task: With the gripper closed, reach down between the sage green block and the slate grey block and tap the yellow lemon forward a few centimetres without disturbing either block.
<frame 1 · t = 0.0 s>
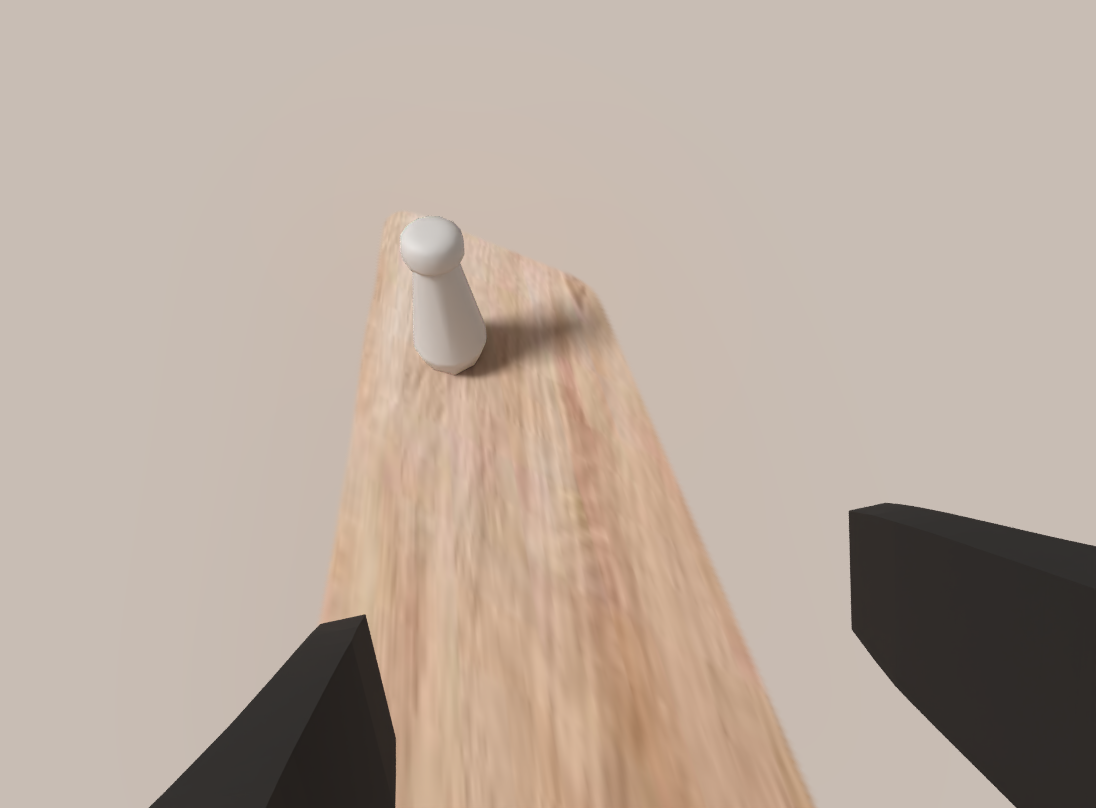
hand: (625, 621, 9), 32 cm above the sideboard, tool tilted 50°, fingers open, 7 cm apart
salt shaker: (453, 356, 54), on the sideboard
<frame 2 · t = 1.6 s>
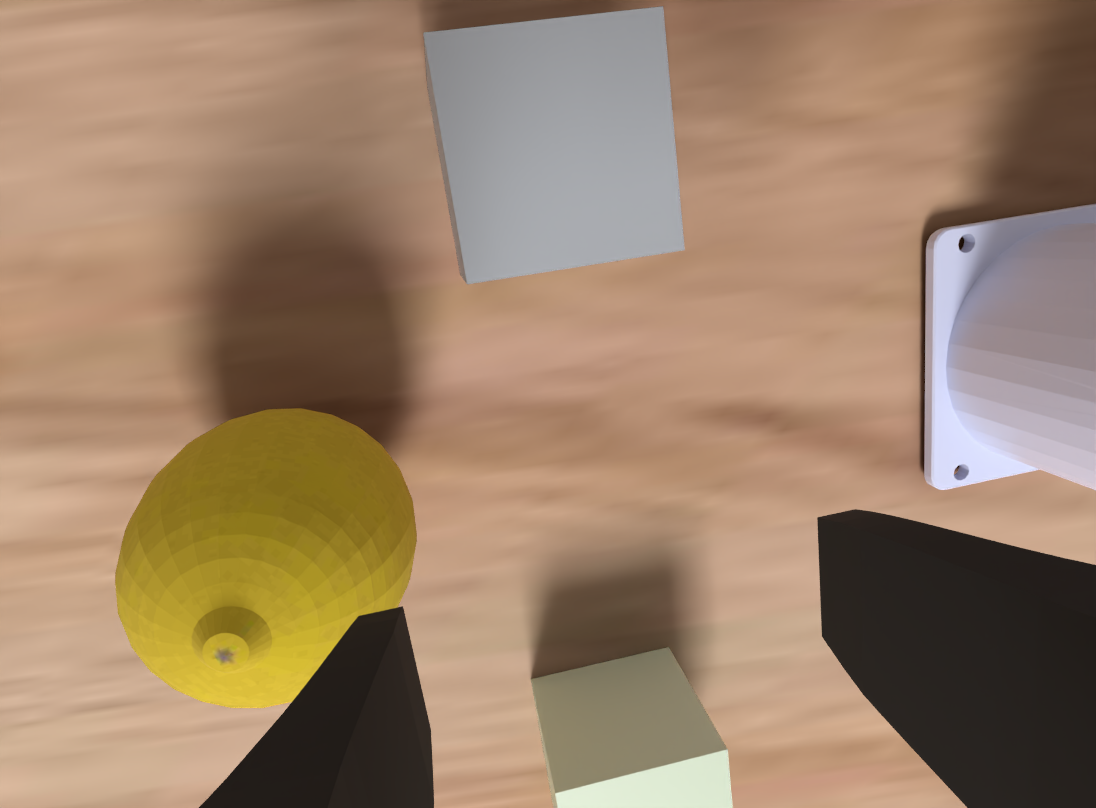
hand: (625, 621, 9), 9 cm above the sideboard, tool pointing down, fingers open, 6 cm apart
slate block: (531, 173, 17), on the sideboard
sage block: (608, 720, 21), on the sideboard
lemon: (318, 475, 18), on the sideboard
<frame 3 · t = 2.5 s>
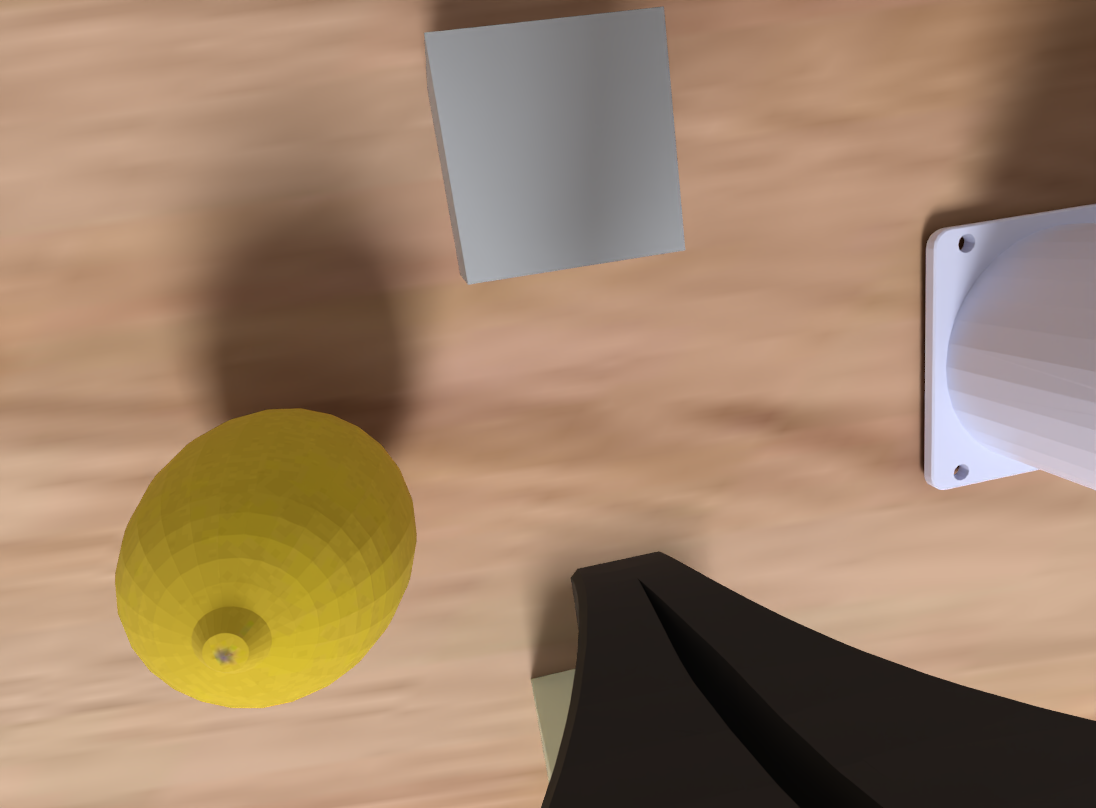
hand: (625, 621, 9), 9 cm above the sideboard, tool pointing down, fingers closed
slate block: (531, 173, 17), on the sideboard
sage block: (608, 720, 21), on the sideboard
lemon: (318, 475, 18), on the sideboard
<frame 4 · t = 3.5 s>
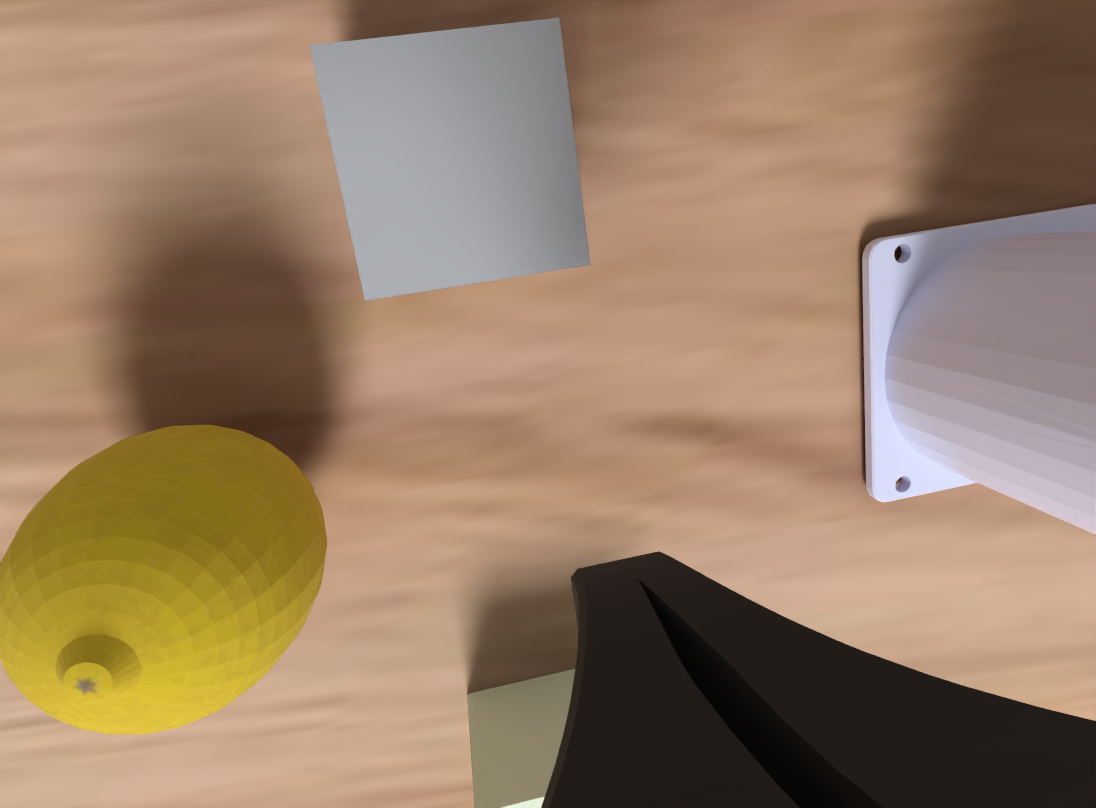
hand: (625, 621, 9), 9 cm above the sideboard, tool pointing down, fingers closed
slate block: (454, 183, 17), on the sideboard
sage block: (548, 734, 21), on the sideboard
lemon: (242, 489, 18), on the sideboard
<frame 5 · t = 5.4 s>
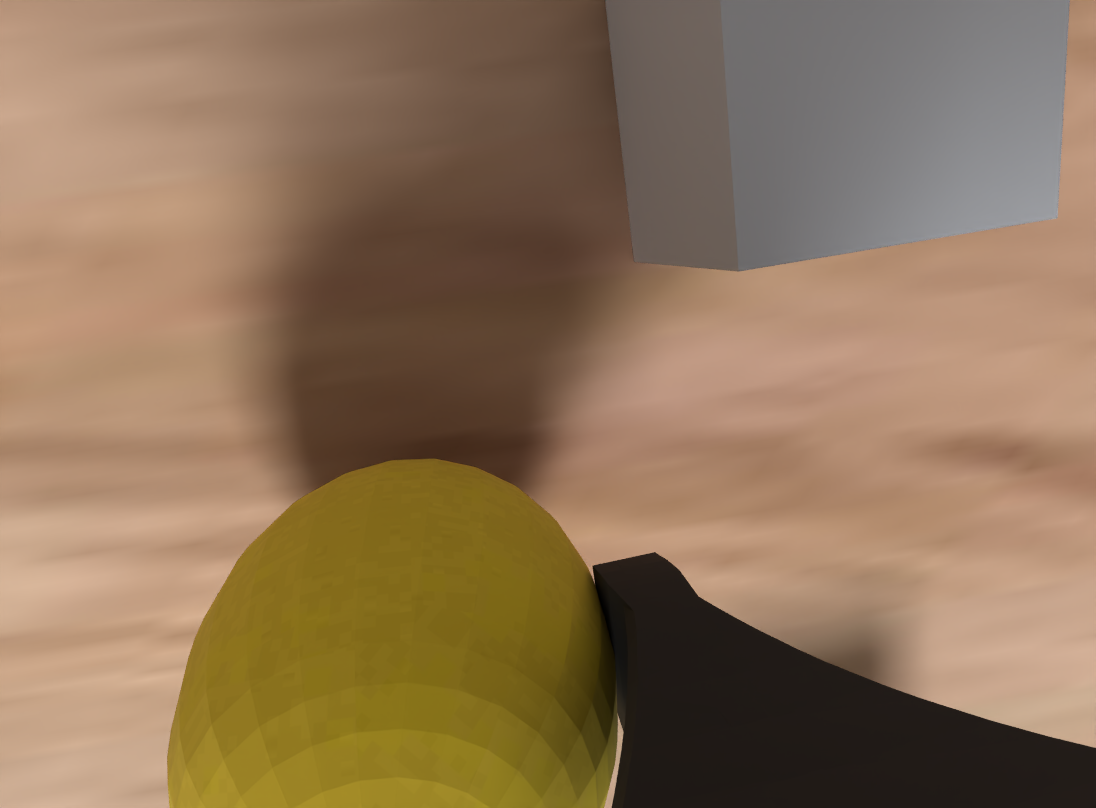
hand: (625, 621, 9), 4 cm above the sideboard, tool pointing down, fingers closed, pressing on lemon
slate block: (735, 120, 12), on the sideboard
lemon: (429, 536, 13), on the sideboard, touching gripper
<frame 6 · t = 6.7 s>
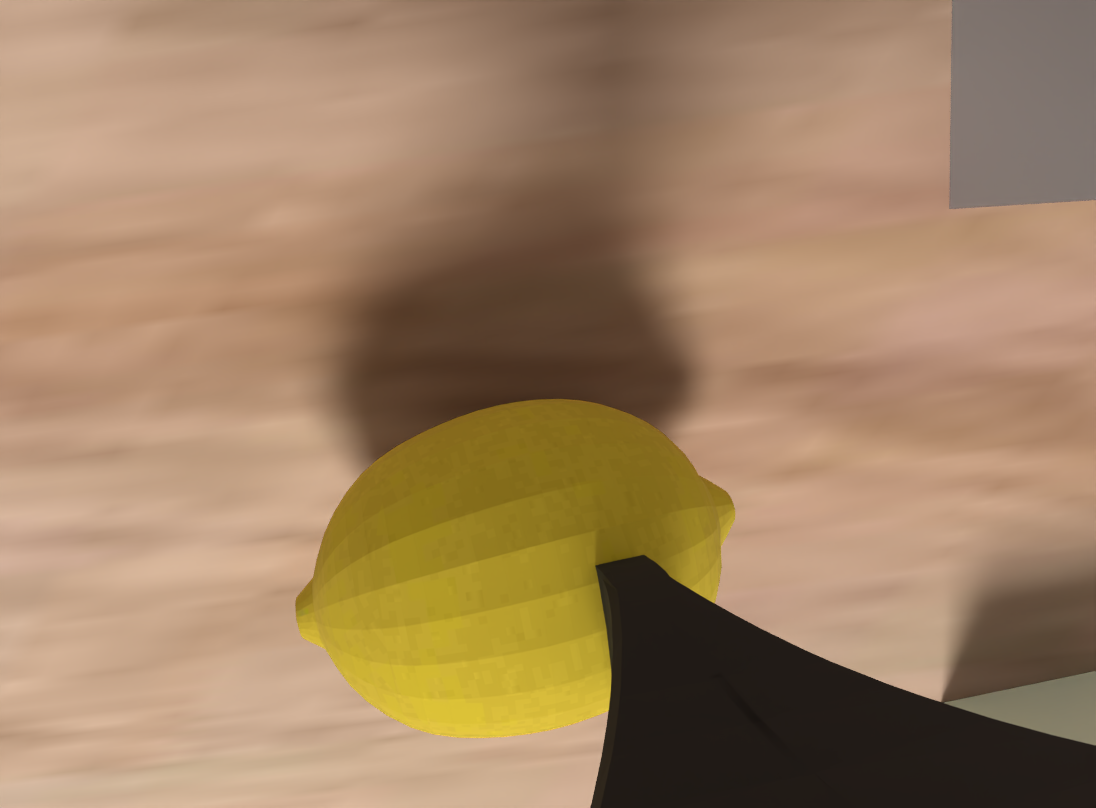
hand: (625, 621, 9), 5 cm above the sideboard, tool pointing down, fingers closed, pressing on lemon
slate block: (1050, 80, 13), on the sideboard
sage block: (1014, 754, 18), on the sideboard
lemon: (740, 503, 13), point 2 cm above the sideboard, touching gripper
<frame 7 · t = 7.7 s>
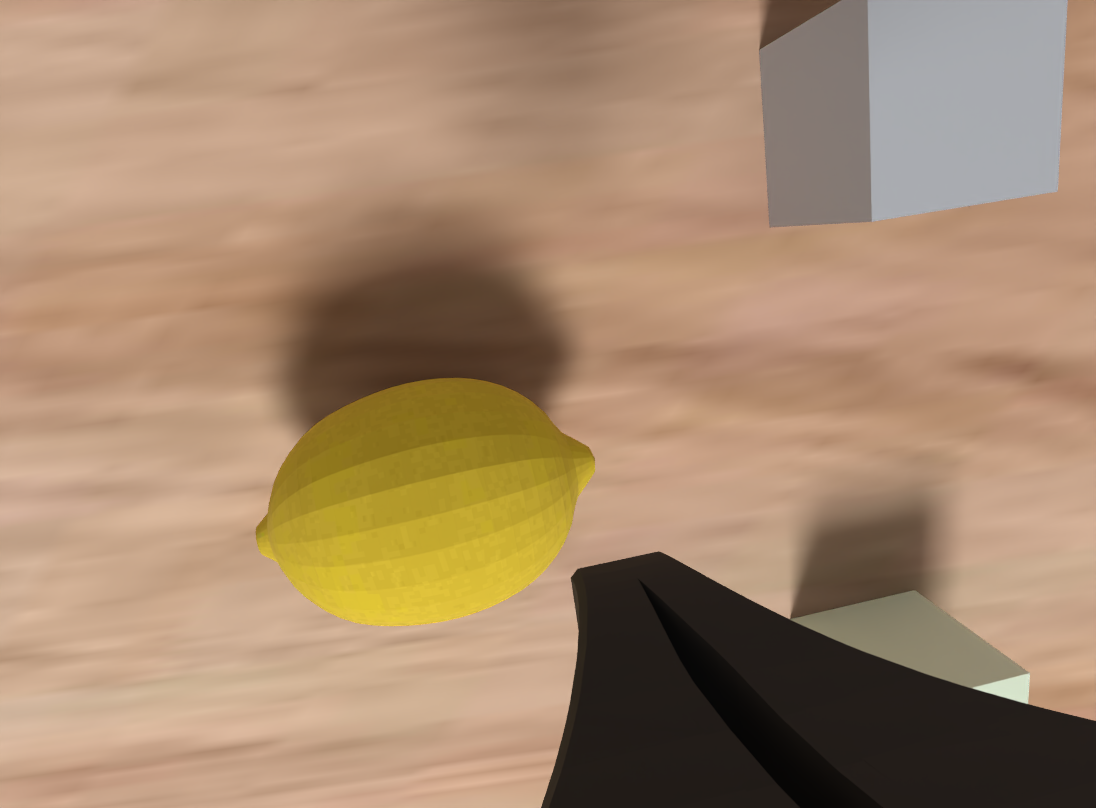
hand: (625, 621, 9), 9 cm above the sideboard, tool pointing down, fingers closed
slate block: (839, 131, 18), on the sideboard
sage block: (852, 661, 22), on the sideboard
lemon: (602, 457, 16), point 3 cm above the sideboard
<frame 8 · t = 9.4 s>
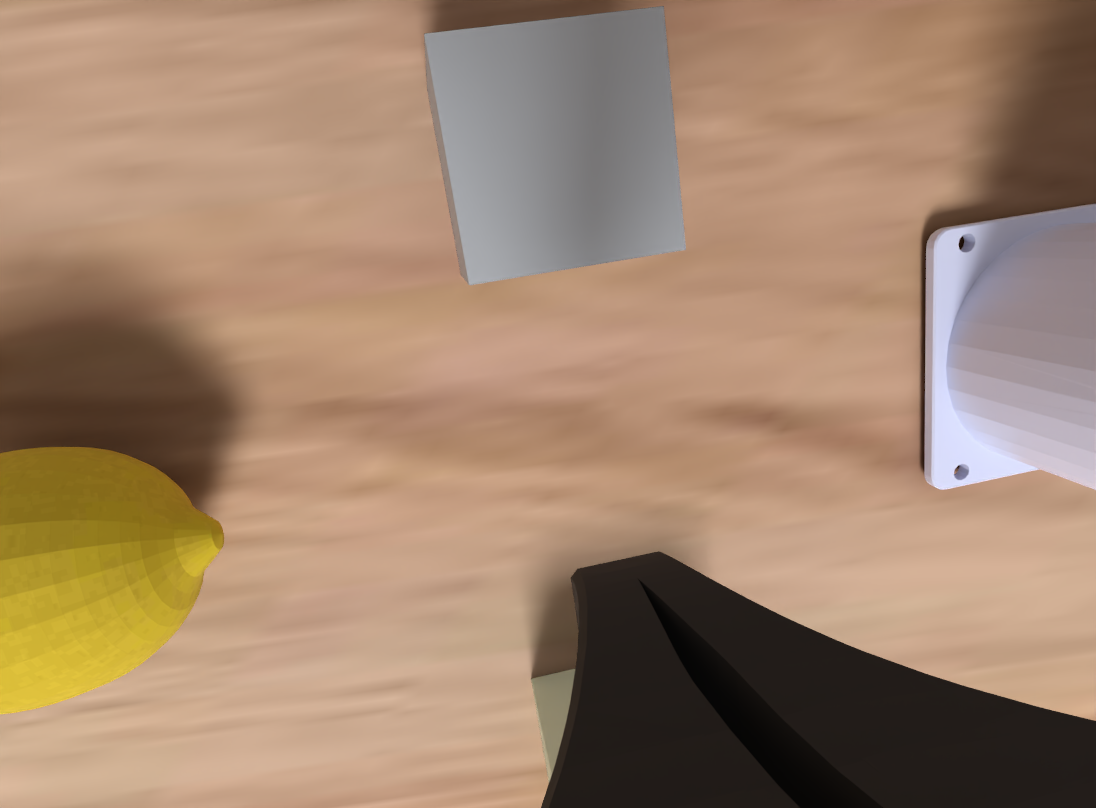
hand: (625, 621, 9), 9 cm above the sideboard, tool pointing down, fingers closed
slate block: (531, 173, 17), on the sideboard
sage block: (608, 720, 21), on the sideboard
lemon: (231, 532, 15), point 3 cm above the sideboard
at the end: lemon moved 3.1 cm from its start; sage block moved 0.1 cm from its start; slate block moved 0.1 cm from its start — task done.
